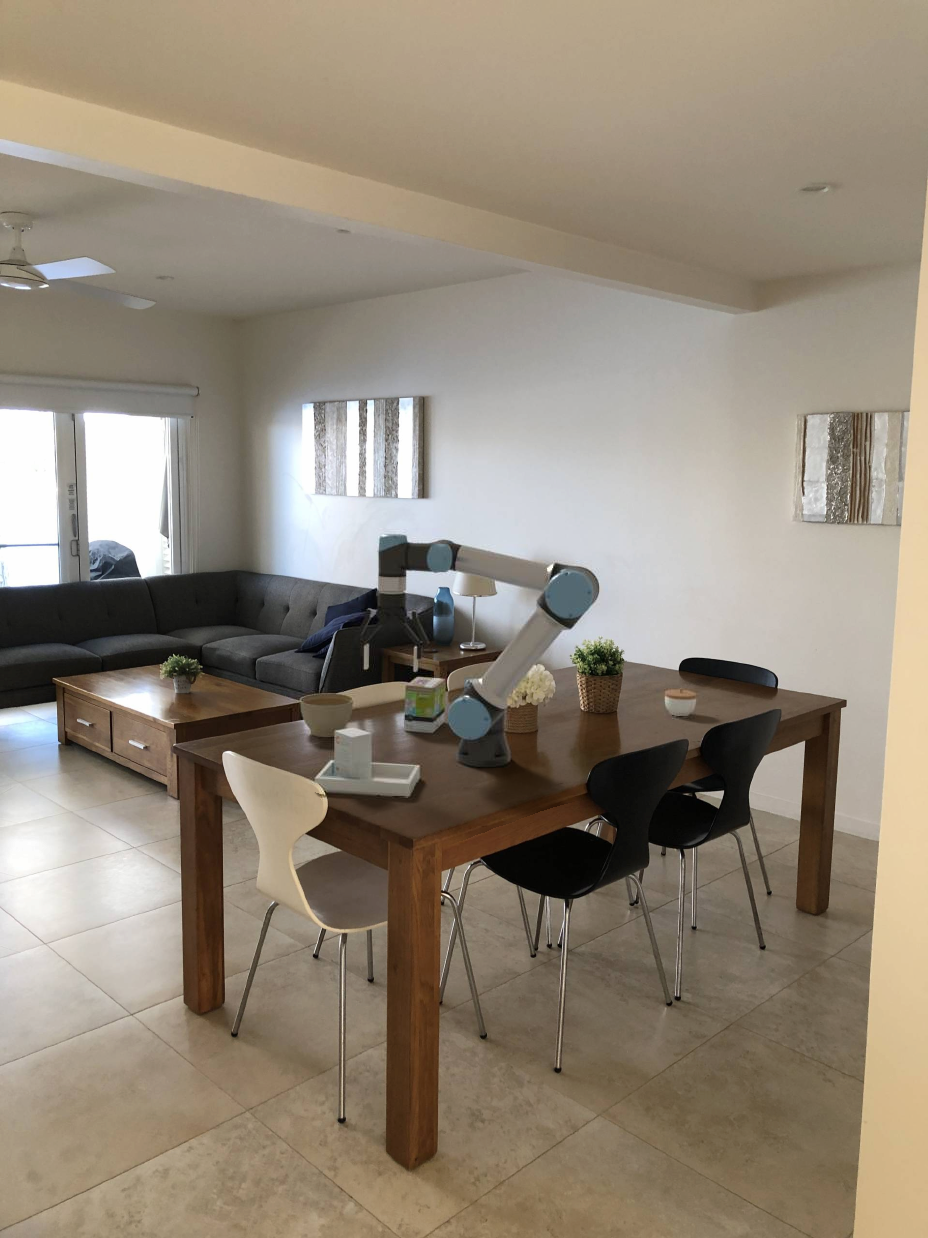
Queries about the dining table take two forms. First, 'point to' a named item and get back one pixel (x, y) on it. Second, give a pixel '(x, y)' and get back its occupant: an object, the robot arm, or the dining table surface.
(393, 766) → the tray
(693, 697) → the lidded jar
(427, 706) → the tea box
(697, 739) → the dining table surface
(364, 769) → the small box
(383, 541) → the robot arm
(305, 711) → the planter bowl
